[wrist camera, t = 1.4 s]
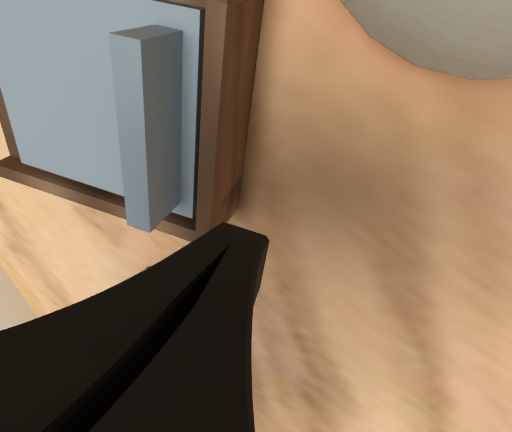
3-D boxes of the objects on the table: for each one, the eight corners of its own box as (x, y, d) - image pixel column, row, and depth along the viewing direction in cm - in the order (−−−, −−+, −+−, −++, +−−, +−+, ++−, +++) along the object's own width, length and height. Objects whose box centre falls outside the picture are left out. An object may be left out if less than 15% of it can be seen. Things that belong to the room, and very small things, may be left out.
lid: (209, 8, 14) (158, 16, 11) (199, 211, 19) (164, 250, 16) (-18, -38, 16) (-110, -41, 13) (32, 157, 21) (-24, 184, 19)
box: (267, -23, 15) (228, -24, 12) (237, 207, 22) (208, 247, 19) (2, -70, 18) (-90, -82, 15) (50, 149, 25) (-4, 175, 22)
